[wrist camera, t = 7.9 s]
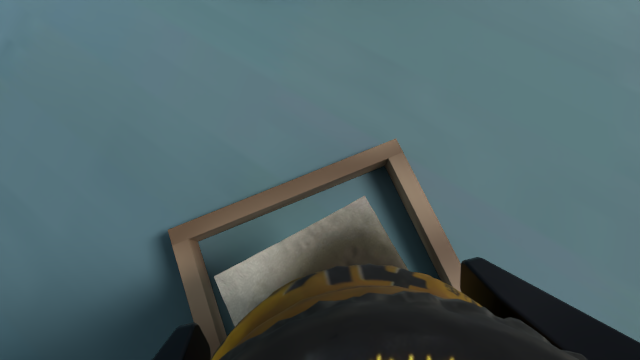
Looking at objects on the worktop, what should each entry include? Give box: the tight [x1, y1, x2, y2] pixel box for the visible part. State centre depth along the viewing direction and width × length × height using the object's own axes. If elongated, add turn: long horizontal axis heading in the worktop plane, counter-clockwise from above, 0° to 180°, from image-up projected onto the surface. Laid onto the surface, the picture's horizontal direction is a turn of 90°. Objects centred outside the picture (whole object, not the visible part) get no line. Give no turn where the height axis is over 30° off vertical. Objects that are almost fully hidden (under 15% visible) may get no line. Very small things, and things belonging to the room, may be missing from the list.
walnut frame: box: [168, 139, 461, 358], centre depth 19 cm, size 16×15×2 cm
